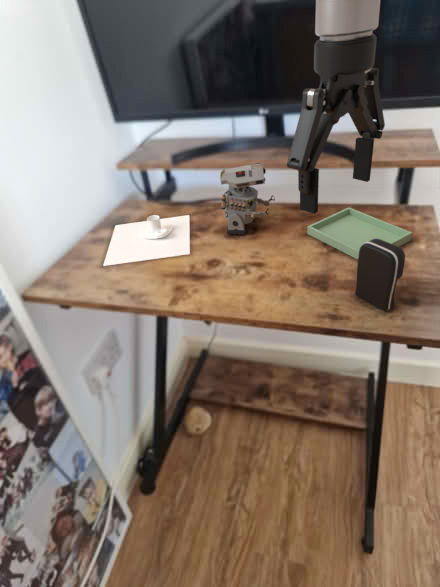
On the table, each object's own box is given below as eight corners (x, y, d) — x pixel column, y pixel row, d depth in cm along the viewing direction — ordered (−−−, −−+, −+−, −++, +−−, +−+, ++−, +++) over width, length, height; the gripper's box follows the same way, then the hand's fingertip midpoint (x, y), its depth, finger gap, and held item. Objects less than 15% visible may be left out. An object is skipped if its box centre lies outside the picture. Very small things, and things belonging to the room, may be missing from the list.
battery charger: (400, 304, 70) (411, 247, 63) (385, 314, 68) (395, 257, 61) (367, 286, 74) (374, 232, 68) (353, 295, 73) (358, 240, 66)
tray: (410, 240, 85) (412, 232, 84) (367, 264, 80) (368, 256, 79) (348, 214, 97) (349, 207, 96) (307, 233, 92) (307, 226, 91)
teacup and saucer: (172, 239, 98) (168, 224, 95) (139, 244, 98) (135, 229, 95) (173, 222, 105) (170, 208, 102) (142, 227, 105) (139, 212, 102)
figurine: (268, 237, 93) (265, 174, 84) (221, 235, 96) (213, 174, 87) (275, 218, 100) (273, 158, 91) (231, 217, 103) (224, 159, 94)
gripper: (373, 21, 59) (360, 164, 72) (254, 54, 47) (264, 218, 60) (424, 18, 54) (400, 172, 67) (305, 54, 42) (304, 233, 55)
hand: (336, 194), depth 63 cm, fingers open, 13 cm apart
